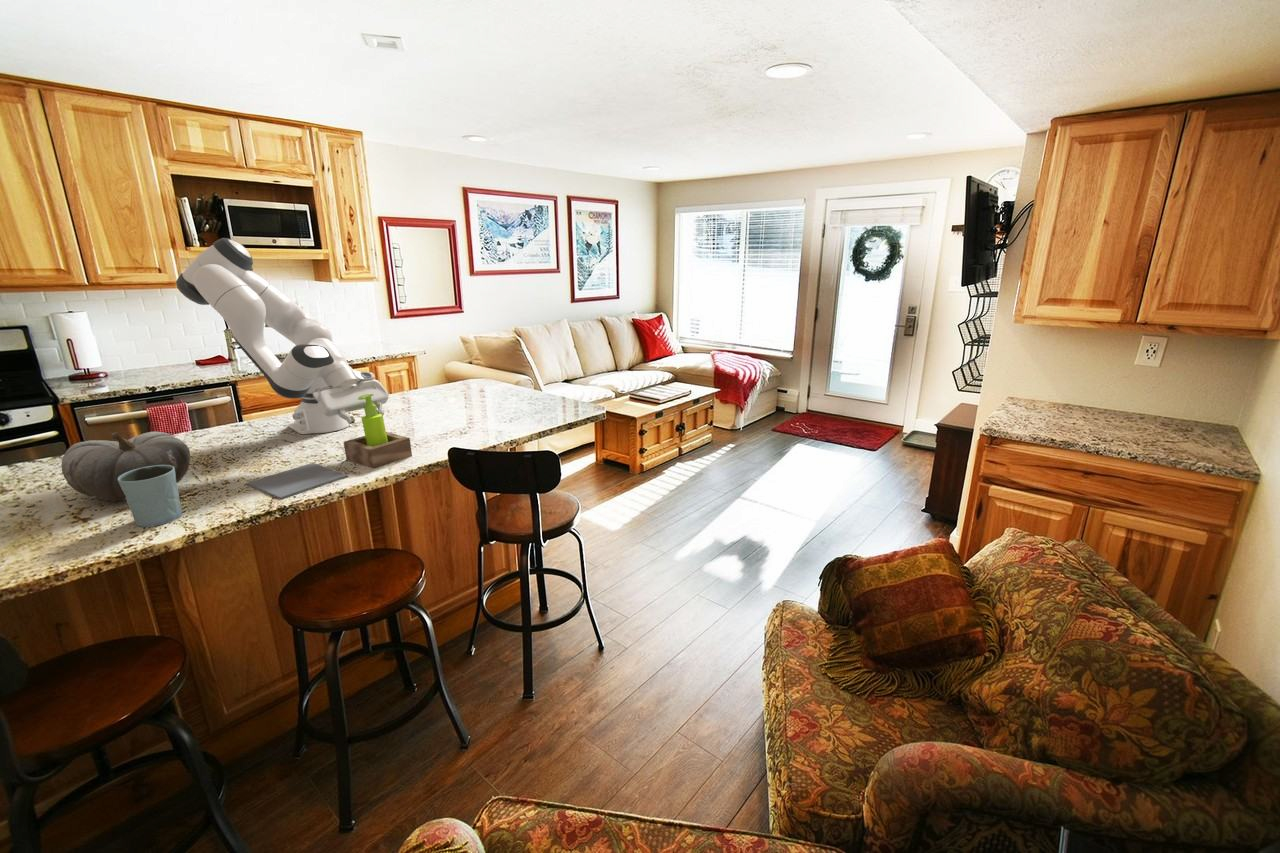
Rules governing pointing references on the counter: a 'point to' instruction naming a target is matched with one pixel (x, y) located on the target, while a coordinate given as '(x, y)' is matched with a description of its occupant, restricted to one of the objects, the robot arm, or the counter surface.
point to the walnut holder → (378, 451)
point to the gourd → (120, 462)
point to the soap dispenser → (373, 423)
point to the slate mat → (296, 480)
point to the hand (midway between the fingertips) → (367, 418)
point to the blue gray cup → (152, 494)
